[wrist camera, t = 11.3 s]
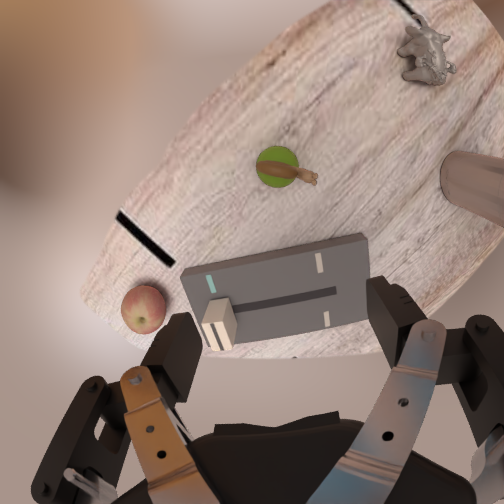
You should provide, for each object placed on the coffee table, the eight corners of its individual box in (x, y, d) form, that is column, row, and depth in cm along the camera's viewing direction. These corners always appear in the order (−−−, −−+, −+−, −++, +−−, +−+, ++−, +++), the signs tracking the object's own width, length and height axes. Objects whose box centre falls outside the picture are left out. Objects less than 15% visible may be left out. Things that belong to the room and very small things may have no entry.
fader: (228, 297, 40) (222, 321, 34) (237, 323, 42) (232, 349, 36) (209, 300, 41) (201, 324, 35) (219, 326, 42) (212, 351, 37)
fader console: (361, 232, 39) (367, 239, 36) (366, 308, 44) (371, 318, 41) (185, 268, 43) (179, 277, 40) (211, 336, 48) (208, 347, 45)
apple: (165, 321, 47) (150, 349, 40) (129, 302, 46) (110, 327, 39) (178, 290, 44) (163, 317, 37) (140, 269, 43) (118, 292, 36)
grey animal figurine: (408, 94, 30) (435, 87, 23) (371, 28, 26) (389, 9, 19) (447, 83, 28) (474, 76, 21) (412, 20, 24) (434, 5, 17)
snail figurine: (300, 188, 37) (313, 207, 26) (254, 181, 37) (248, 196, 26) (306, 151, 35) (323, 152, 24) (260, 143, 35) (255, 141, 24)
